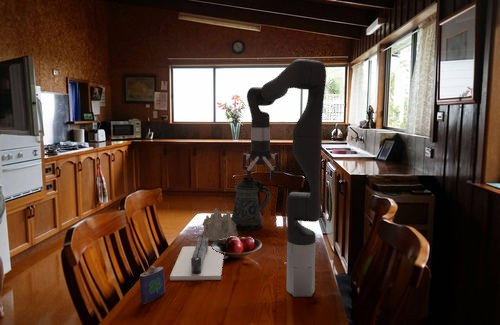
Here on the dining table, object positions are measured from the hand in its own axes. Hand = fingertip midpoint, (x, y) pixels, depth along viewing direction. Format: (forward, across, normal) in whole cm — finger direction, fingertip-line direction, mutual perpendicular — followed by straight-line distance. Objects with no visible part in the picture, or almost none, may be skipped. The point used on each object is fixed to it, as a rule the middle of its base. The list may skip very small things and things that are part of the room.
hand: (260, 179), depth 156 cm
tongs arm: (+30, -25, -5) cm, 40 cm away
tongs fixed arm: (+30, -24, -7) cm, 39 cm away
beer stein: (+32, -4, +44) cm, 55 cm away
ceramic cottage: (+32, -18, +28) cm, 47 cm away
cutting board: (+32, -24, -6) cm, 41 cm away
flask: (+32, -36, -34) cm, 59 cm away
